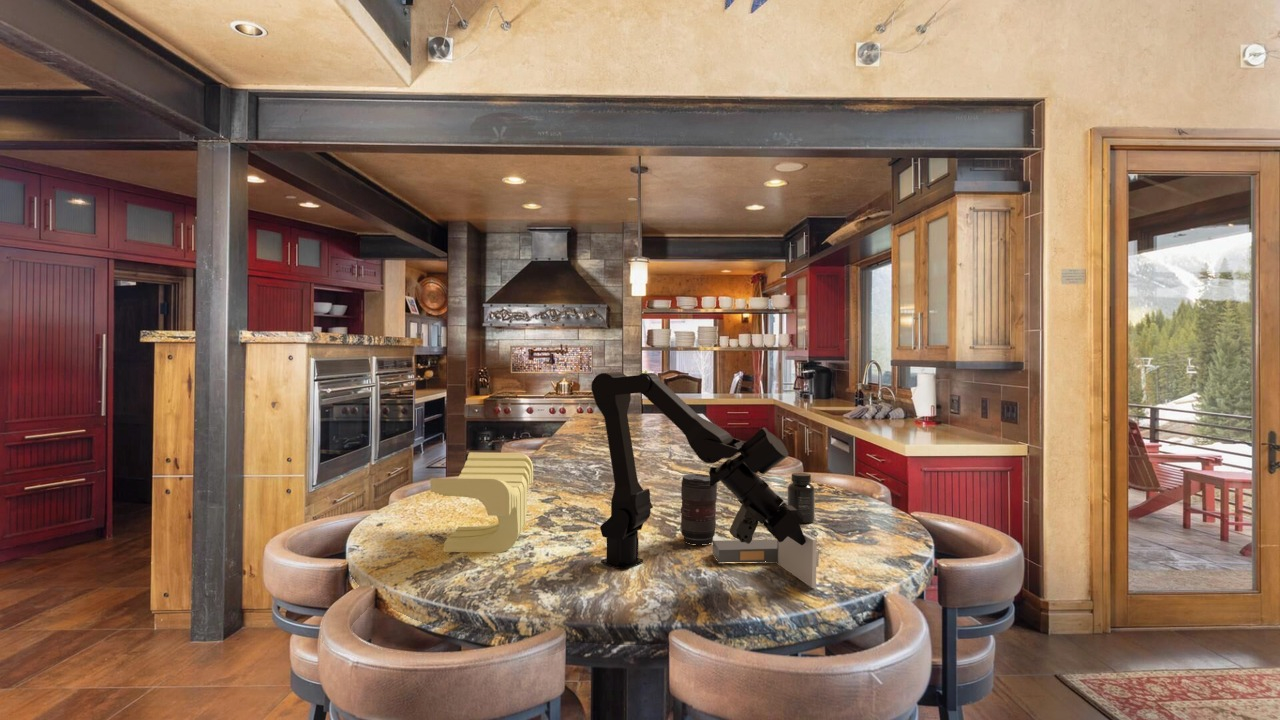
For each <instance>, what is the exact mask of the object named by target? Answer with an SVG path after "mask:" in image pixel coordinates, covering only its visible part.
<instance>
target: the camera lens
mask: <svg viewBox="0 0 1280 720" xmlns="http://www.w3.org/2000/svg"><path fill="white" fill-rule="evenodd" d="M709 484H710V475H709V474H702V473H689V474H684V475H683V476H682V480H681V488H680V489H681V490H680V491H681V494H680V495H681V507H680V514H681V518H680V519H681V520H680V528H681V535H682V536H683V542H684V541H685V542H687V543H690V544H696V545H702V544H709V543H712V544H713V541H714V536H715V535H716V524H717V523H716V522H717V518H716V515H717V514H716V508H717V507H716V506H717V498H718V482H717V483H716V484H715V485H714V486H710V485H709ZM685 542H684V543H685Z"/></svg>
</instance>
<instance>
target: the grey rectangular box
mask: <svg viewBox="0 0 1280 720" xmlns="http://www.w3.org/2000/svg"><path fill="white" fill-rule="evenodd" d="M713 554H714V556H715V557H716V559H717V560H718V562H765V561H766V562H777V539H776V538H774V539H752V541H751V542H750V543H749V544H747V543H745V542H741V541H740V540H739V539H733V540H732V539H731V540H730V539H729V540H713V542H712V555H713ZM714 556H713V557H714ZM715 557H714V558H715ZM716 559H715V560H716ZM718 562H717V563H718Z"/></svg>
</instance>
